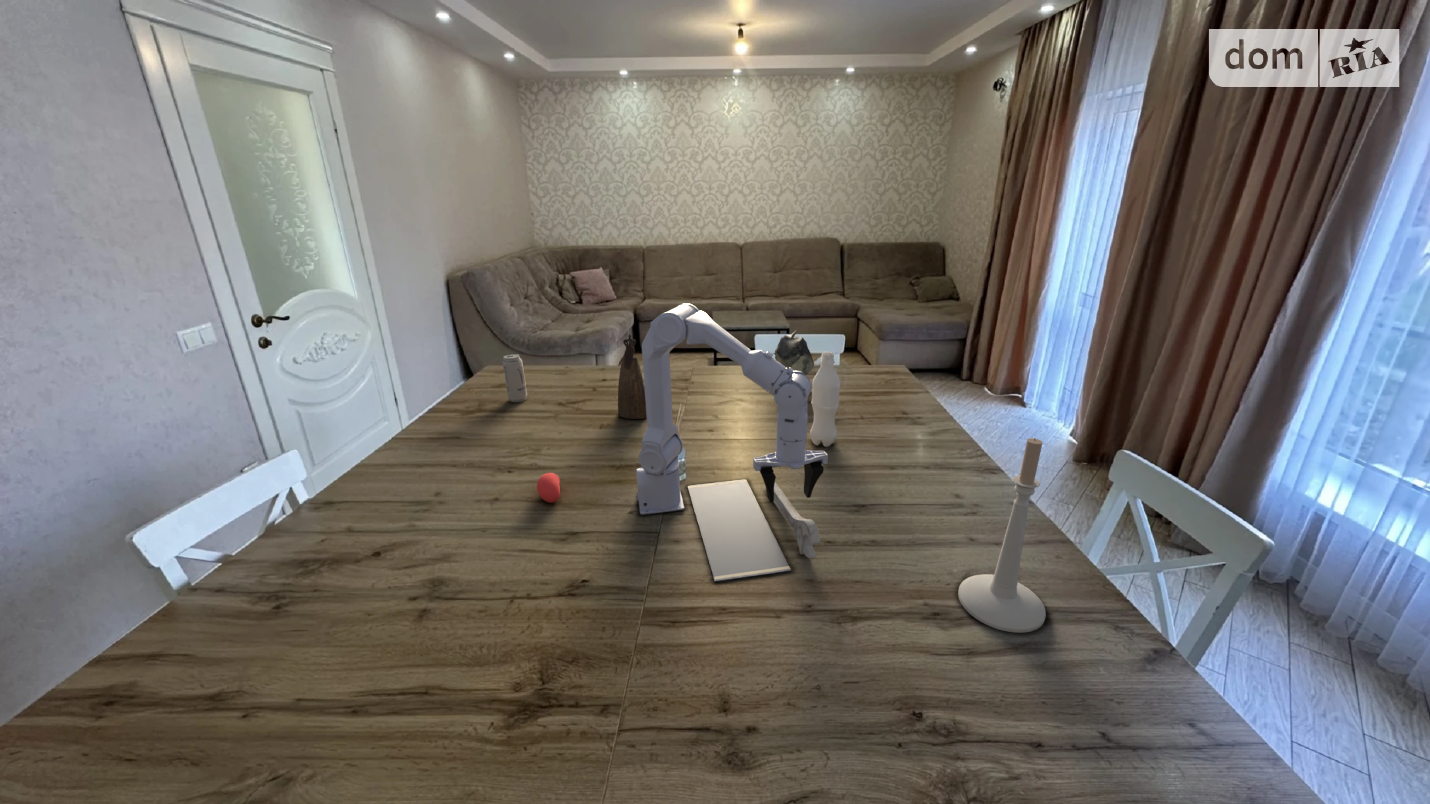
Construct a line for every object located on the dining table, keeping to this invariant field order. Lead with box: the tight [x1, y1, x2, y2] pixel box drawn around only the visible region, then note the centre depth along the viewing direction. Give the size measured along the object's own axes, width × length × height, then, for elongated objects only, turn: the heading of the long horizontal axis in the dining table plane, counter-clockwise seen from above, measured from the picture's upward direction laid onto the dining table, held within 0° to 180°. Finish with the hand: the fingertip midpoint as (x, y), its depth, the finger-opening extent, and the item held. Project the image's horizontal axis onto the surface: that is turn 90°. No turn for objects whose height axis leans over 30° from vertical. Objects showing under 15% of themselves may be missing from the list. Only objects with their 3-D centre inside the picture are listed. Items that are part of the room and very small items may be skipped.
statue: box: [617, 334, 647, 420], centre depth 163 cm, size 9×8×25 cm
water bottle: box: [809, 351, 841, 448], centre depth 144 cm, size 7×7×25 cm
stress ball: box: [536, 472, 561, 504], centre depth 124 cm, size 5×9×6 cm, turn 4°
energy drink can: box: [502, 353, 528, 403], centre depth 180 cm, size 6×6×15 cm
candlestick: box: [957, 437, 1047, 634], centre depth 85 cm, size 13×13×30 cm
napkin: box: [687, 478, 792, 583], centre depth 113 cm, size 14×34×1 cm, turn 11°
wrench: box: [773, 482, 821, 560], centre depth 111 cm, size 8×2×30 cm
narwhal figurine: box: [774, 328, 815, 376], centre depth 189 cm, size 14×15×18 cm
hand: (788, 497), depth 110 cm, fingers open, 7 cm apart
